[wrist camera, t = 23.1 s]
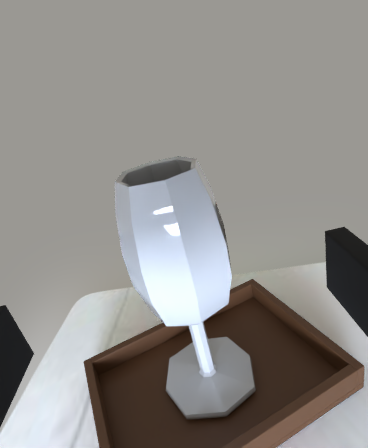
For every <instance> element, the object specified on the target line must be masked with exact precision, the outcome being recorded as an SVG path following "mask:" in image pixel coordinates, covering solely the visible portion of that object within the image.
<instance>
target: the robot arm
mask: <svg viewBox="0 0 368 448" xmlns="http://www.w3.org/2000/svg"><path fill="white" fill-rule="evenodd" d="M325 242H326V274H327V288H328V289H329V290H330V291H331V293H332V294H333V295H334V296H335V298H336V299H337V300H338V301H339V302H340V304H341V305H342V306H343V307H344V309H345V310H346V311H347V312H348V313H349V315H350V316H351V317H352V318H353V319H354V321H355V322H356V323H357V324H358V326H359V327H360V328H361V329H362V330H363V332H364V333H365V334H366V335H367V337H368V245H367V244H366V243H364V242H363V241H362V240H360V239H359V238H358V237H357V236H355V235H354V234H353V233H351V232H350V231H349V230H348V229H346V228H345V227H342V228H337V229H333V230H328V231H325ZM33 354H34V353H33V351H32V349H31V348H30V346H29V344H28V343H27V341H26V339H25V337H24V336H23V334H22V332H21V331H20V329H19V328H18V326H17V324H16V322H15V321H14V319H13V317H12V315H11V314H10V312H9V310H8V309H7V307H6V306H5V305H4V306H0V426H1V424H2V422H3V420H4V418H5V415H6V413H7V411H8V409H9V407H10V405H11V402H12V400H13V398H14V396H15V394H16V392H17V389H18V387H19V385H20V383H21V381H22V378H23V376H24V374H25V372H26V370H27V368H28V365H29V363H30V361H31V358H32V357H33Z"/></svg>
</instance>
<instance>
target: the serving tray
mask: <svg viewBox="0 0 368 448" xmlns="http://www.w3.org/2000/svg"><path fill="white" fill-rule="evenodd" d="M204 325H205V329H206V333H207V337H208V339H211V338H220V337H228V338H229V339H230V340H231V341H233V342H234V343H235V344H236V345H237V346H239V347H240V348H241V349H242V350H244V351H245V352H246V353H247V354H248V355H249V356H250V357H251V363H252V369H253V375H254V382H255V388H256V390H255V392H254V393H253V394H252V395H251V396H250V397H248V398H247V399H246V400H245V401H244V402H243V403H242V404H241V405H239V406H238V407H237V408H236V409H235V410H234V411H233V412H231V413H230V414H229V415H228V416H227V417H216V418H203V419H190V420H187V419H186V417H185V416H184V415H183V413H182V412H181V411H180V409H179V408H178V407H177V405H176V404H175V403H174V401H173V400H172V399H171V397H170V396H169V394H168V393H167V392H166V384H167V376H168V367H169V359H170V358H171V357H172V356H174V355H175V354H177V353H178V352H180V351H181V350H182V349H184V348H185V347H187V346H188V345H190V344H191V343H192V342H193V340H192V336H191V332H190V329H189V326H166V325H165V324H164V323H161V324H159V325H157V326H155V327H153V328H151V329H149V330H147V331H145V332H143V333H141V334H139V335H137V336H135V337H133V338H130V339H128V340H126V341H124V342H122V343H120V344H118V345H116V346H114V347H112V348H110V349H108V350H106V351H104V352H102V353H100V354H98V355H96V356H94V357H91V358H90V359H88V360H86V361H84V366H85V372H86V377H87V382H88V388H89V393H90V399H91V404H92V410H93V415H94V420H95V426H96V431H97V437H98V442H99V448H276V447H277V446H279V445H280V444H282V443H283V442H284V441H286V440H287V439H289V438H290V437H292V436H293V435H295V434H296V433H297V432H299V431H300V430H302V429H303V428H305V427H306V426H308V425H309V424H310V423H312V422H313V421H315V420H316V419H318V418H319V417H320V416H322V415H323V414H325V413H326V412H328V411H329V410H331V409H332V408H333V407H335V406H336V405H338V404H339V403H341V402H342V401H343V400H345V399H346V398H348V397H349V396H351V395H352V394H354V393H355V392H356V391H358V390H359V389H361V388H362V387H363V385H364V365H362V364H361V363H360V362H359V361H357V360H356V359H355V358H353V357H352V356H351V355H350V354H348V353H347V352H346V351H344V350H343V349H342V348H341V347H339V346H338V345H337V344H335V343H334V342H333V341H332V340H330V339H329V338H328V337H327V336H325V335H324V334H323V333H321V332H320V331H319V330H318V329H316V328H315V327H314V326H312V325H311V324H310V323H309V322H307V321H306V320H305V319H303V318H302V317H301V316H300V315H298V314H297V313H296V312H294V311H293V310H292V309H291V308H289V307H288V306H287V305H285V304H284V303H283V302H282V301H280V300H279V299H278V298H276V297H275V296H274V295H273V294H271V293H270V292H269V291H267V290H266V289H265V288H264V287H262V286H261V285H260V284H259V283H257V282H256V281H255V280H253V279H251V280H249V281H248V282H245V283H243V284H241V285H239V286H237V287H235V288H233V289H231V290H230V295H229V303H228V305H226V306H225V307H223V308H222V309H220V310H219V311H217V312H216V313H214V314H213V315H211V316H210V317H209V318H207V319H206V320H204Z"/></svg>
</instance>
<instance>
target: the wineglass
mask: <svg viewBox="0 0 368 448" xmlns="http://www.w3.org/2000/svg"><path fill="white" fill-rule="evenodd" d="M115 214H116V220H117V226H118V232H119V237H120V244H121V250H122V255H123V259H124V261H125V264H126V267H127V270H128V273H129V276H130V279H131V282H132V285H133V286H134V288H135V289H136V291H137V292H138V293H139V295H140V296H141V298H142V299H143V300H144V302H145V303H146V305H147V306H148V307H149V309H150V310H151V311H152V312H153V313H154V314H155V315H156V316H157V317H158V318H159V319H160V320H161V321H162V322H163V323H164V324H165V325H166V326H189V329H190V332H191V336H192V340H193V342H192V343H191V344H190V345H188V346H187V347H185V348H184V349H182V350H181V351H180V352H178V353H177V354H175V355H174V356H172V357H171V358H170V359H169V367H168V376H167V384H166V392H167V393H168V394H169V396H170V397H171V399H172V400H173V401H174V403H175V404H176V405H177V407H178V408H179V409H180V411H181V412H182V413H183V415H184V416H185V417H186V419H187V420H190V419H203V418H216V417H227V416H228V415H229V414H230V413H231V412H233V411H234V410H235V409H236V408H237V407H238V406H239V405H241V404H242V403H243V402H244V401H245V400H246V399H247V398H248V397H250V396H251V395H252V394H253V393H254V392H255V390H256V388H255V382H254V375H253V369H252V363H251V357H250V356H249V355H248V354H247V353H246V352H245V351H244V350H242V349H241V348H240V347H239V346H237V345H236V344H235V343H234V342H233V341H231V340H230V339H229V338H228V337H220V338H211V339H208V337H207V333H206V329H205V325H204V320H206V319H207V318H209V317H210V316H211V315H213V314H214V313H216V312H217V311H219V310H220V309H222V308H223V307H225V306H226V305H228V303H229V295H230V286H231V278H232V274H231V266H230V258H229V251H228V246H227V241H226V235H225V229H224V224H223V221H222V218H221V215H220V213H219V209H218V207H217V204H216V201H215V198H214V195H213V192H212V189H211V186H210V184H209V182H208V181H207V179H206V177H205V175H204V173H203V171H202V169H201V167H200V165H199V163H198V161H197V159H194V158H187V157H179V156H178V157H173V158H168V159H163V160H158V161H153V162H149V163H146V164H144V165H140V166H138V167H135V168H133V169H130V170H127V171H124V172H122V174H121V175H120V176H119V177H118V179H117V180H116V181H115Z"/></svg>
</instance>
